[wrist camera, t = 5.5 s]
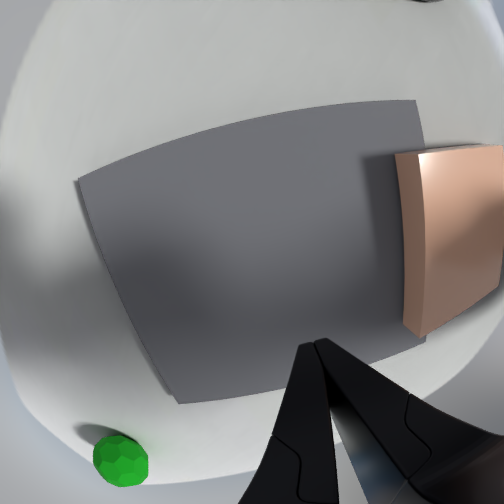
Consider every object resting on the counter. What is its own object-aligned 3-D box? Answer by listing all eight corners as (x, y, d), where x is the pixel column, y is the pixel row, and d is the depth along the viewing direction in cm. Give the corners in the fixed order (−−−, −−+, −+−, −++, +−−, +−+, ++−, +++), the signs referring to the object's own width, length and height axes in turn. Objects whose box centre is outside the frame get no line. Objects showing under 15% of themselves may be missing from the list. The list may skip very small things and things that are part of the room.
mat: (406, 102, 11) (415, 99, 10) (419, 335, 15) (425, 342, 14) (86, 176, 11) (77, 178, 10) (180, 395, 16) (178, 404, 15)
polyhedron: (120, 420, 17) (104, 466, 13) (164, 449, 18) (157, 493, 14) (92, 430, 18) (77, 469, 13) (132, 457, 19) (123, 495, 15)
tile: (394, 153, 10) (483, 143, 11) (402, 324, 13) (482, 277, 14) (418, 154, 9) (502, 145, 10) (419, 338, 12) (498, 285, 13)
